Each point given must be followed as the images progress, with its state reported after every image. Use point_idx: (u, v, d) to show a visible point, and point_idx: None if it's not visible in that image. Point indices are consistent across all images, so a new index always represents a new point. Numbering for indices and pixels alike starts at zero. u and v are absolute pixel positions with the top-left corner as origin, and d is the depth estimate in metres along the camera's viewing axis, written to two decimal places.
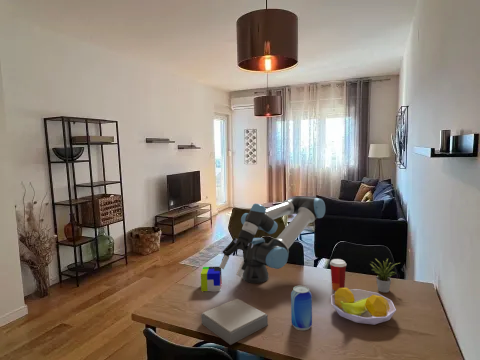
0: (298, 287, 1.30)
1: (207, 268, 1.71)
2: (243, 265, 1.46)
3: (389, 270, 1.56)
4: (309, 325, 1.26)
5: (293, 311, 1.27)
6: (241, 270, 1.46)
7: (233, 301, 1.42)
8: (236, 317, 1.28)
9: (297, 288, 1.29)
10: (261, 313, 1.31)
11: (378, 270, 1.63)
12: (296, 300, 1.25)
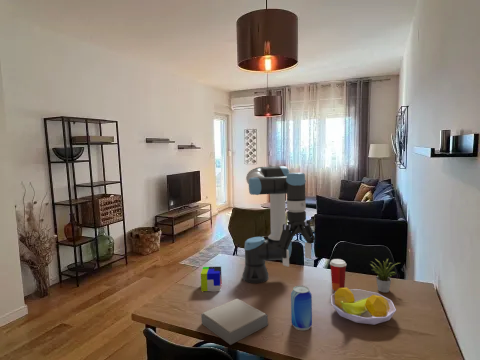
0: (298, 287, 1.30)
1: (207, 268, 1.71)
2: None
3: (389, 270, 1.56)
4: (309, 325, 1.26)
5: (293, 311, 1.27)
6: None
7: (233, 301, 1.42)
8: (236, 317, 1.28)
9: (297, 288, 1.29)
10: (261, 313, 1.31)
11: (378, 270, 1.63)
12: (296, 300, 1.25)
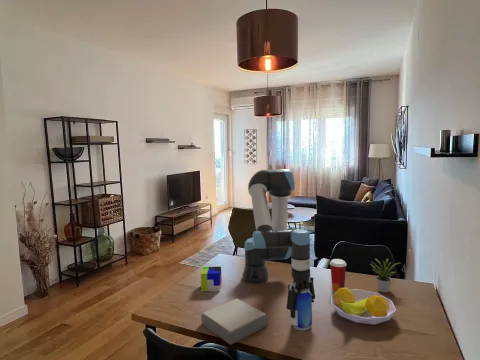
0: None
1: (207, 268, 1.71)
2: None
3: (389, 270, 1.56)
4: (309, 325, 1.26)
5: None
6: None
7: (233, 301, 1.42)
8: (236, 317, 1.28)
9: None
10: (261, 313, 1.31)
11: (378, 270, 1.63)
12: None
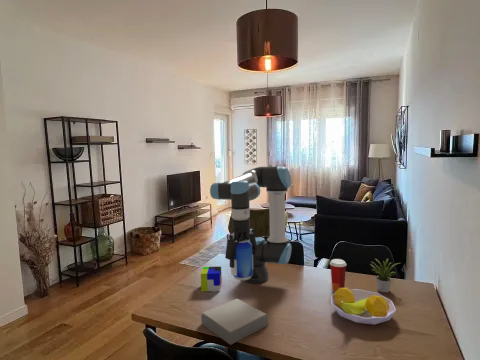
0: None
1: (207, 268, 1.71)
2: None
3: (389, 270, 1.56)
4: (249, 275, 1.26)
5: None
6: None
7: (233, 301, 1.42)
8: (236, 317, 1.28)
9: None
10: (261, 313, 1.31)
11: (378, 270, 1.63)
12: None
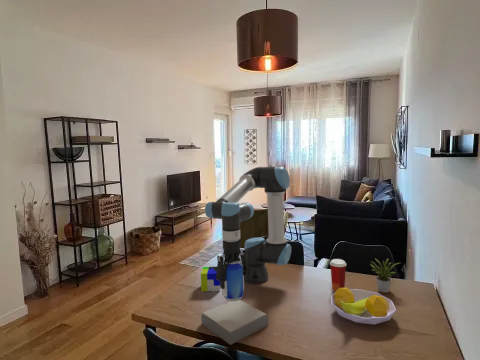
0: None
1: (207, 268, 1.71)
2: None
3: (389, 270, 1.56)
4: (239, 296, 1.27)
5: None
6: None
7: (233, 301, 1.42)
8: (236, 317, 1.28)
9: None
10: (261, 313, 1.31)
11: (378, 270, 1.63)
12: None
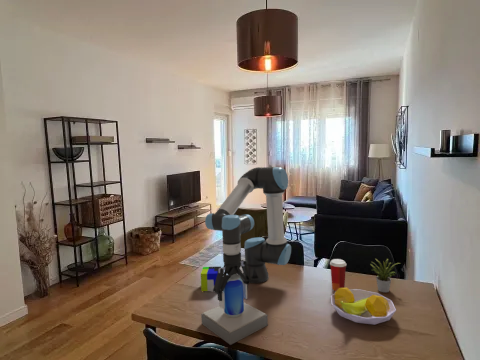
0: None
1: (207, 268, 1.71)
2: None
3: (389, 270, 1.56)
4: (239, 312, 1.28)
5: (224, 298, 1.29)
6: None
7: None
8: (236, 317, 1.28)
9: None
10: (261, 313, 1.31)
11: (378, 270, 1.63)
12: (226, 288, 1.27)
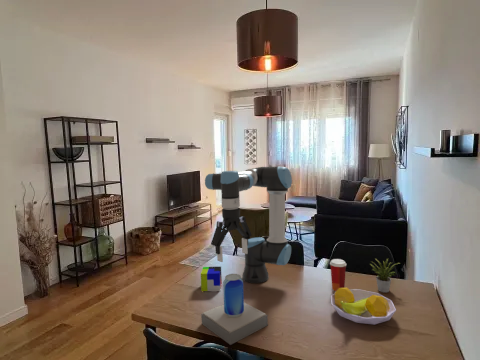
0: (231, 275, 1.32)
1: (207, 268, 1.71)
2: (246, 241, 1.36)
3: (389, 270, 1.56)
4: (240, 312, 1.28)
5: (224, 298, 1.29)
6: None
7: None
8: (236, 317, 1.28)
9: (230, 276, 1.31)
10: (261, 313, 1.31)
11: (378, 270, 1.63)
12: (226, 288, 1.27)
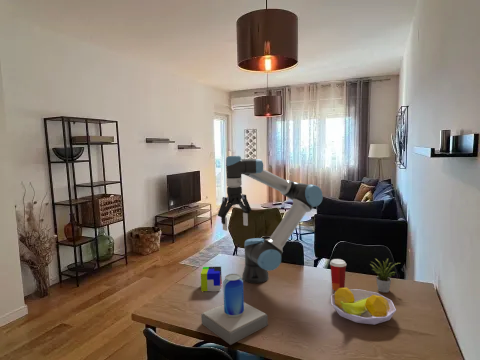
0: (231, 275, 1.32)
1: (207, 268, 1.71)
2: None
3: (389, 270, 1.56)
4: (240, 312, 1.28)
5: (224, 298, 1.29)
6: None
7: None
8: (236, 317, 1.28)
9: (230, 276, 1.31)
10: (261, 313, 1.31)
11: (378, 270, 1.63)
12: (226, 288, 1.27)
